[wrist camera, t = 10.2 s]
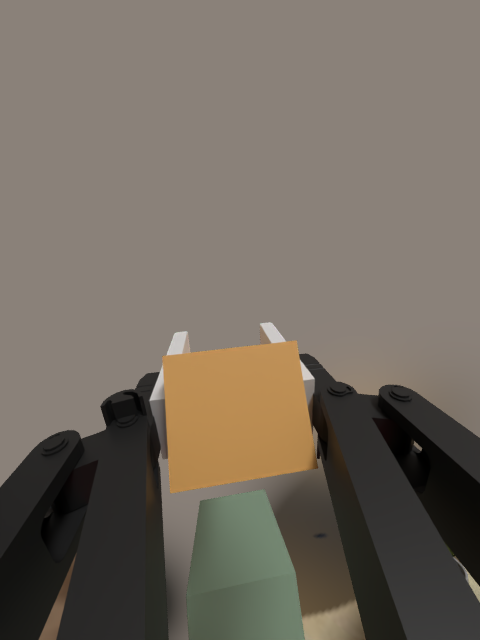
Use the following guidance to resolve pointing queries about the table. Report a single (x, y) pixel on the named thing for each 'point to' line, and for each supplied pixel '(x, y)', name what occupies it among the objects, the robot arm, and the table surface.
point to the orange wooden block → (236, 415)
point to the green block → (241, 574)
